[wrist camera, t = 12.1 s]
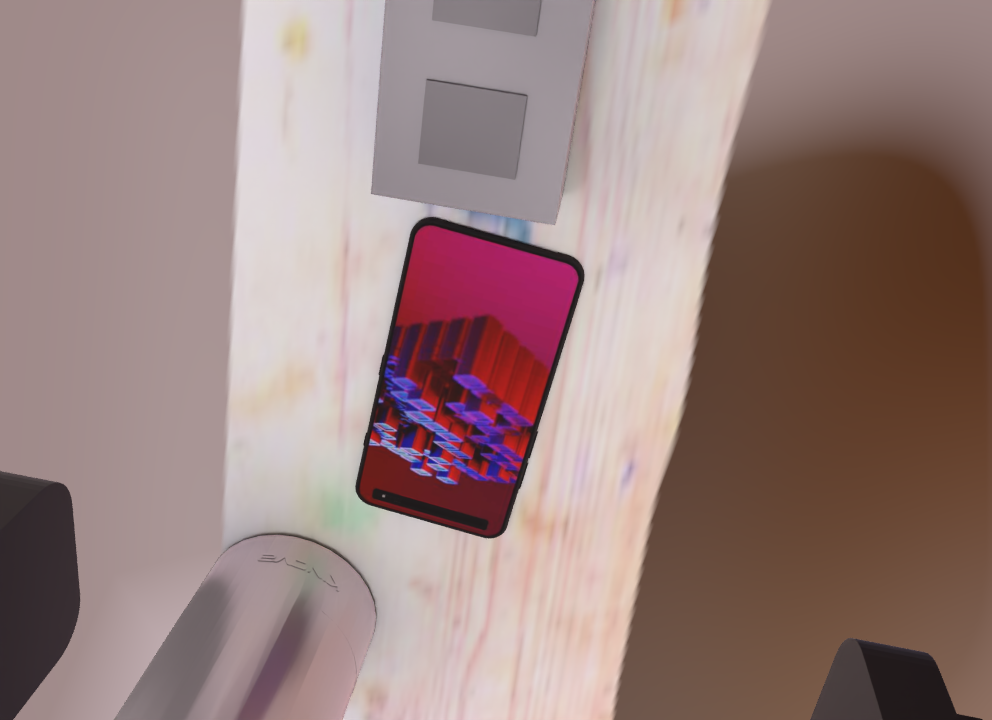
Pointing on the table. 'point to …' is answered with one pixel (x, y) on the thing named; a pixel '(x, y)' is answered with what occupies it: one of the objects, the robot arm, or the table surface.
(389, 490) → the smartphone
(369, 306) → the table surface
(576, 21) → the power strip
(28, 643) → the robot arm
